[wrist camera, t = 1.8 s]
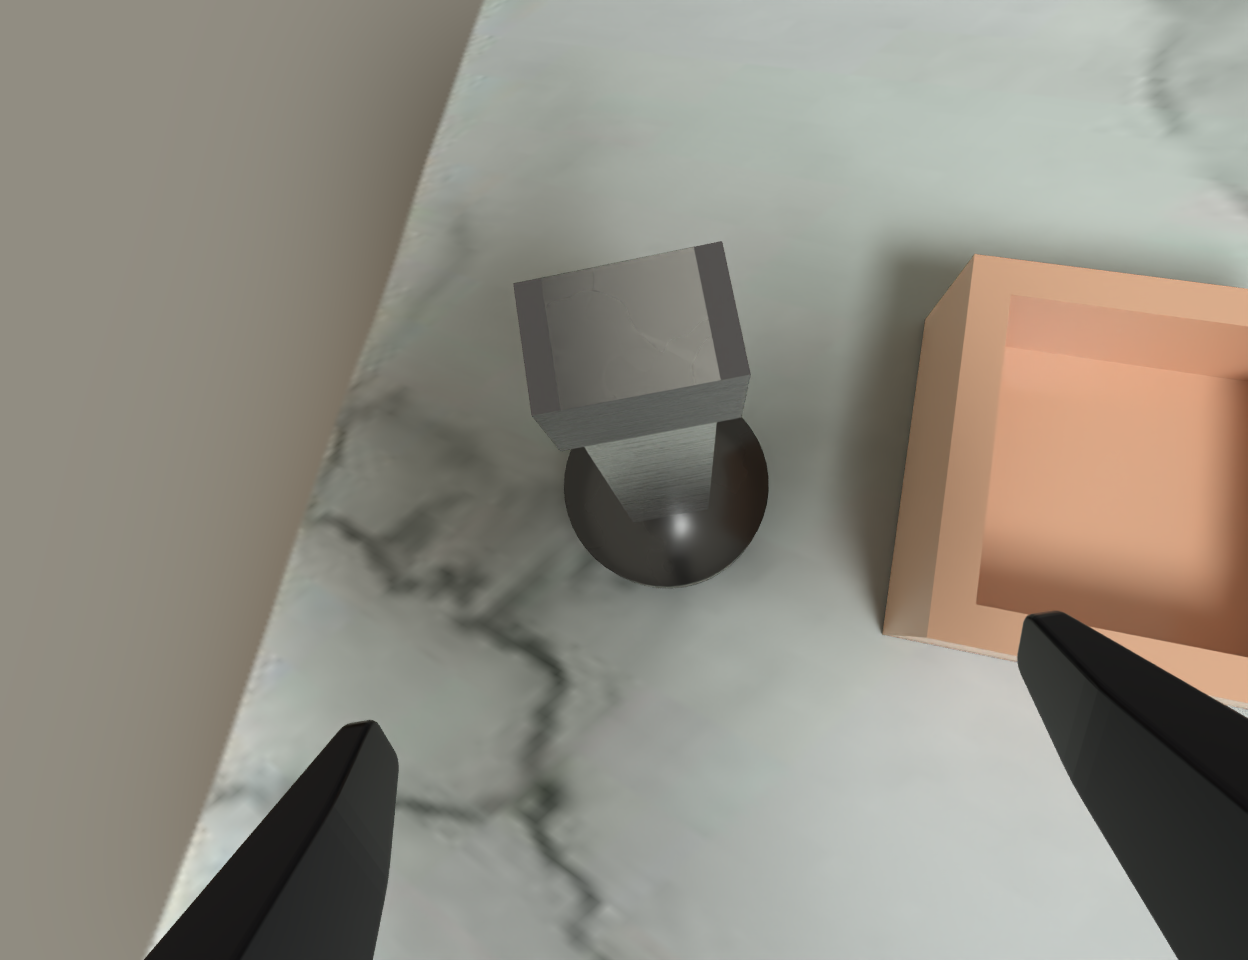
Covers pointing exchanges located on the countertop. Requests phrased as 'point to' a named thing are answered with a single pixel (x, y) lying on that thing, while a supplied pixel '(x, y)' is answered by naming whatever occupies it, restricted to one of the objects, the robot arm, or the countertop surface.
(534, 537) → the countertop surface
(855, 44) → the countertop surface
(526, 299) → the grey stamp
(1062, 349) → the peach square open box
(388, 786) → the robot arm
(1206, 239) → the countertop surface
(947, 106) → the countertop surface
